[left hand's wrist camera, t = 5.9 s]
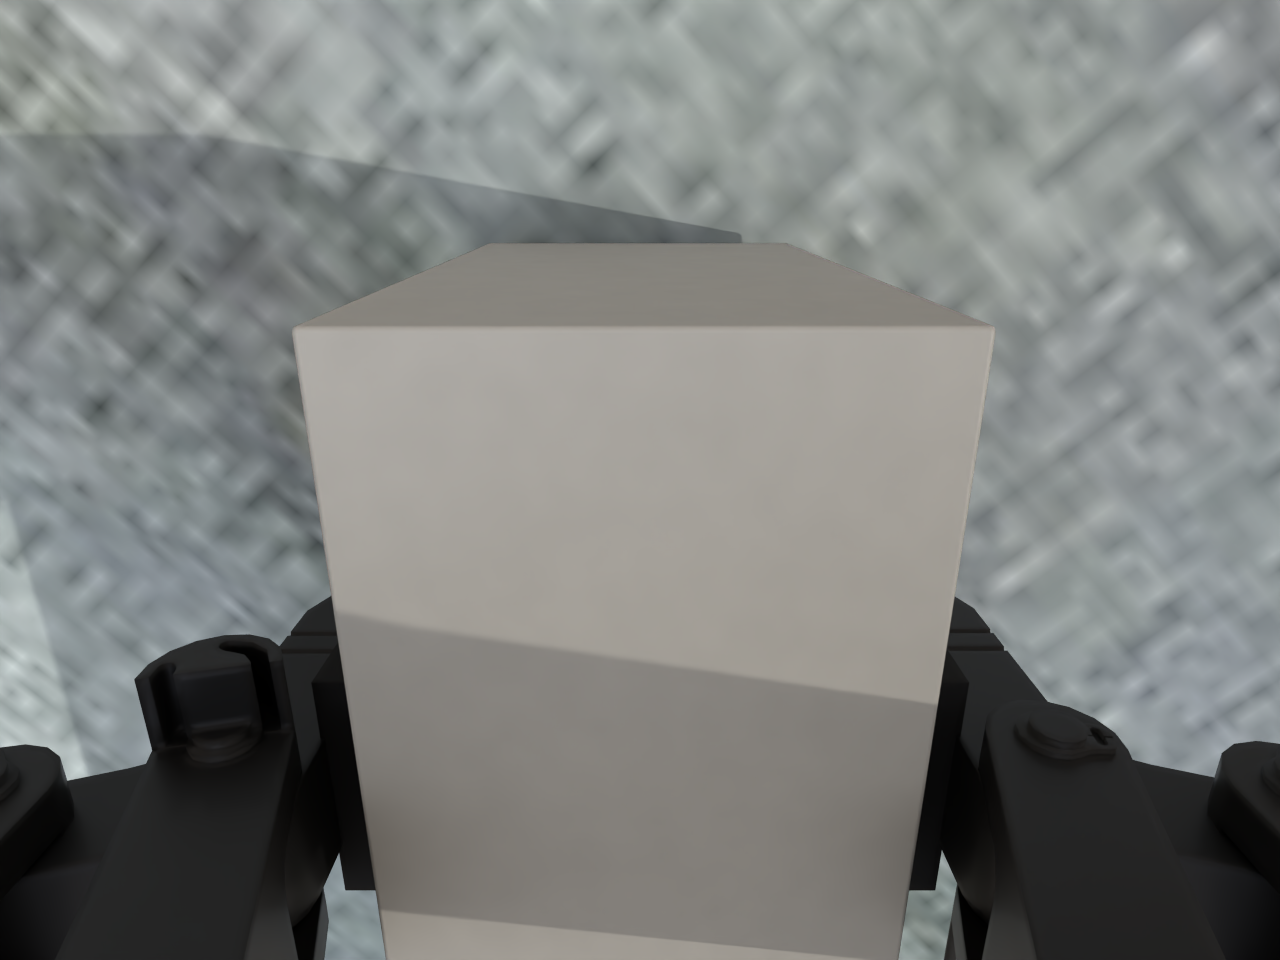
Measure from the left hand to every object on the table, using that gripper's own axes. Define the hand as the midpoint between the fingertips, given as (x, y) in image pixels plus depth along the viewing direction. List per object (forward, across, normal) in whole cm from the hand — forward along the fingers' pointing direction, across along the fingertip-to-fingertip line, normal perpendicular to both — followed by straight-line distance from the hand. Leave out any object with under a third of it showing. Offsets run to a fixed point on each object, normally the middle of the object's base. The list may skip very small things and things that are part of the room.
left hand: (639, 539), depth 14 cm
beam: (+1, 0, -29) cm, 29 cm away
